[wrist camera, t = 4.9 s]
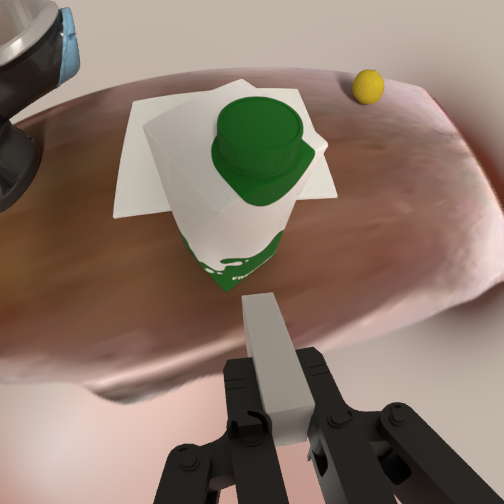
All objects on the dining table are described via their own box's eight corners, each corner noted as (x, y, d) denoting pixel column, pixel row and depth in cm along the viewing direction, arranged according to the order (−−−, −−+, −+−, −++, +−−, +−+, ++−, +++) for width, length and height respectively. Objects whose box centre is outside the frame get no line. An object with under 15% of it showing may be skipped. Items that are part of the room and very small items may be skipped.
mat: (134, 103, 39) (133, 101, 38) (296, 91, 42) (297, 89, 41) (114, 218, 31) (112, 216, 31) (336, 197, 34) (337, 195, 34)
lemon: (375, 116, 42) (391, 84, 34) (346, 106, 42) (360, 71, 34) (374, 100, 44) (388, 70, 36) (347, 90, 44) (359, 58, 36)
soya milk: (224, 304, 29) (210, 205, 10) (175, 241, 31) (118, 98, 12) (287, 255, 31) (355, 119, 12) (236, 199, 33) (244, 46, 14)
